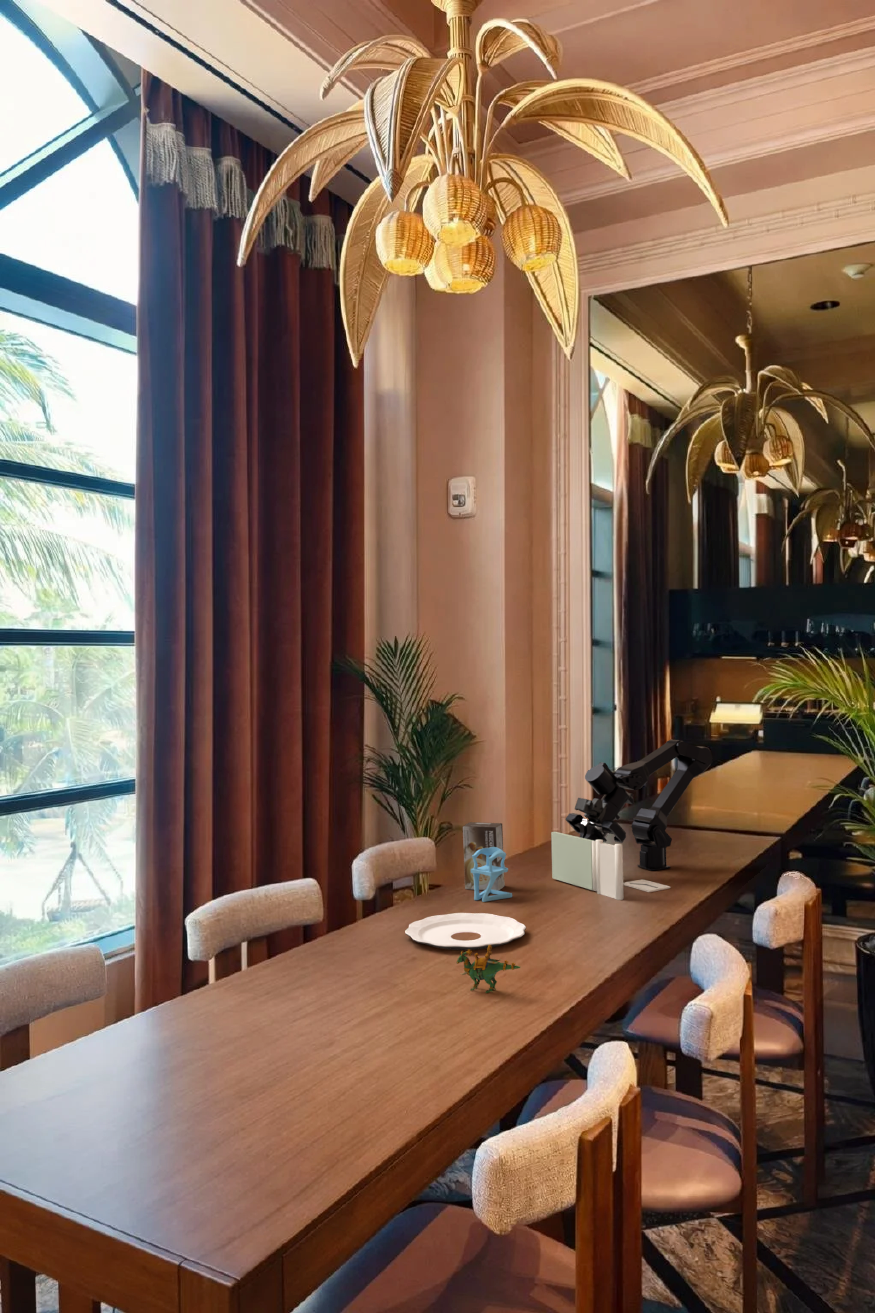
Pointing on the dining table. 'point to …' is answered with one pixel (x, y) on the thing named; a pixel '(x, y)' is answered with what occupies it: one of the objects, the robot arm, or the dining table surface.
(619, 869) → the fence fixed section
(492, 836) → the coffee box
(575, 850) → the panel
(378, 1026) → the dining table surface
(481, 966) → the figurine
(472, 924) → the plate
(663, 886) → the card
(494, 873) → the chair
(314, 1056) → the dining table surface
